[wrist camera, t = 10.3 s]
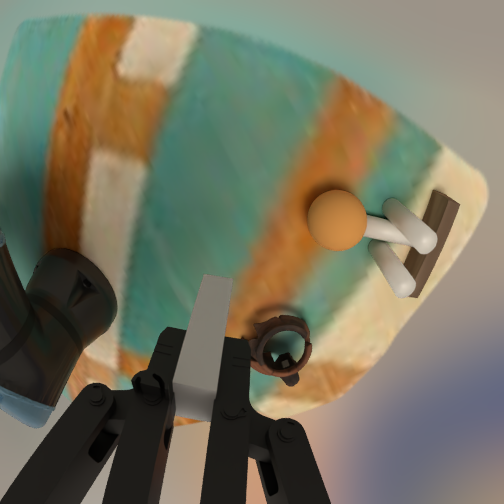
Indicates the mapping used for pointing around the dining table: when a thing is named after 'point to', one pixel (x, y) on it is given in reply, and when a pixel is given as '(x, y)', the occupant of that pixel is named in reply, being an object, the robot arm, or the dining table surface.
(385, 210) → the pin
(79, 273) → the robot arm
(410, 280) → the pin
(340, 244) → the ball
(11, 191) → the dining table surface
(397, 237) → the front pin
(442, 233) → the back wall
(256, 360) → the pottery mug
